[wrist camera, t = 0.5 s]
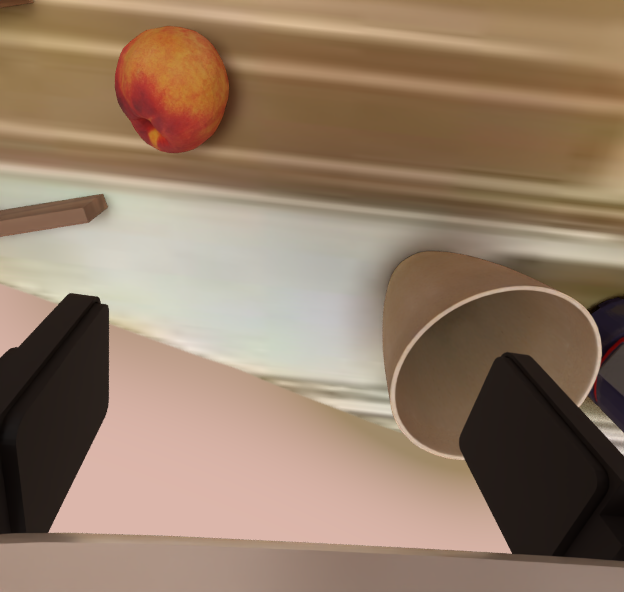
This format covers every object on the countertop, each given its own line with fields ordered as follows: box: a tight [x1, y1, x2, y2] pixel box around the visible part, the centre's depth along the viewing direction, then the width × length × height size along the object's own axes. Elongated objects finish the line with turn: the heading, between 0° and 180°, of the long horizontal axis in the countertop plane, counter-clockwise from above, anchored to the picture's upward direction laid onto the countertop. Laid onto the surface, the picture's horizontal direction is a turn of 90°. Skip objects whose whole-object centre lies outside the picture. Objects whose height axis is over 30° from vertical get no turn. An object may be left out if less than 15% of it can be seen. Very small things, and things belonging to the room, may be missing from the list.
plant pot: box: [383, 251, 602, 460], centre depth 37 cm, size 15×15×16 cm
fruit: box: [115, 26, 229, 153], centre depth 31 cm, size 8×8×8 cm
